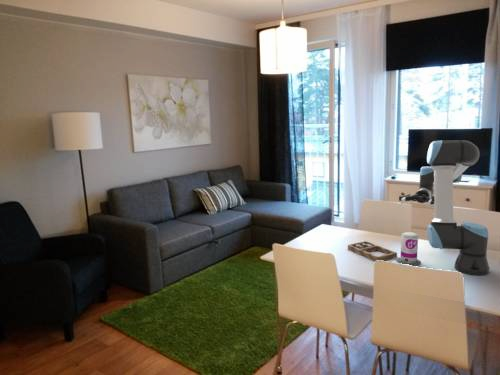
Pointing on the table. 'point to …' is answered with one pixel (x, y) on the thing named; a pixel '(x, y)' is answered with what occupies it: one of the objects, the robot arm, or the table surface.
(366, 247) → the parts tray
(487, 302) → the table surface
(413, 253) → the supplement can
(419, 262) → the coaster
